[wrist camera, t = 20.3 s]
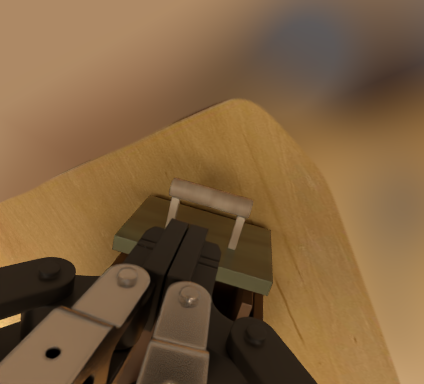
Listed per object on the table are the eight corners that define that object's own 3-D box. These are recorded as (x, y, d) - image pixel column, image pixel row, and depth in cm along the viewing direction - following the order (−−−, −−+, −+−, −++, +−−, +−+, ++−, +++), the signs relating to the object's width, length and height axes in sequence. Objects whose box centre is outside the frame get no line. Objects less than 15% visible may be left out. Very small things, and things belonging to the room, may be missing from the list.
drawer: (158, 151, 29) (122, 180, 22) (286, 187, 28) (293, 230, 21) (129, 300, 35) (95, 361, 28) (234, 332, 35) (226, 403, 27)
